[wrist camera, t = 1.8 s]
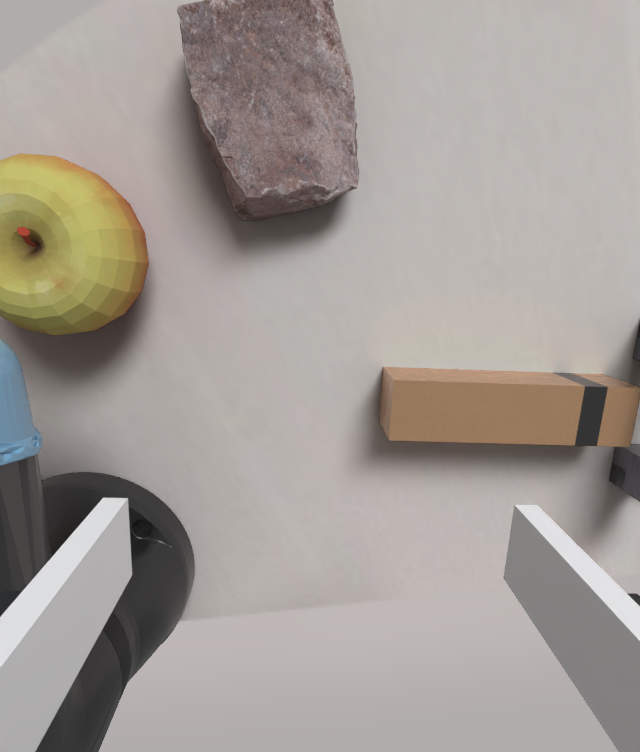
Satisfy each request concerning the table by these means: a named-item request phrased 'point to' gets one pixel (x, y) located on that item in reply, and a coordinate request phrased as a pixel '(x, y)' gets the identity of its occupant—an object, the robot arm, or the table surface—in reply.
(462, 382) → the block
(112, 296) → the apple
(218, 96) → the stone
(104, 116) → the table surface
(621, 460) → the grey open frame bracket
